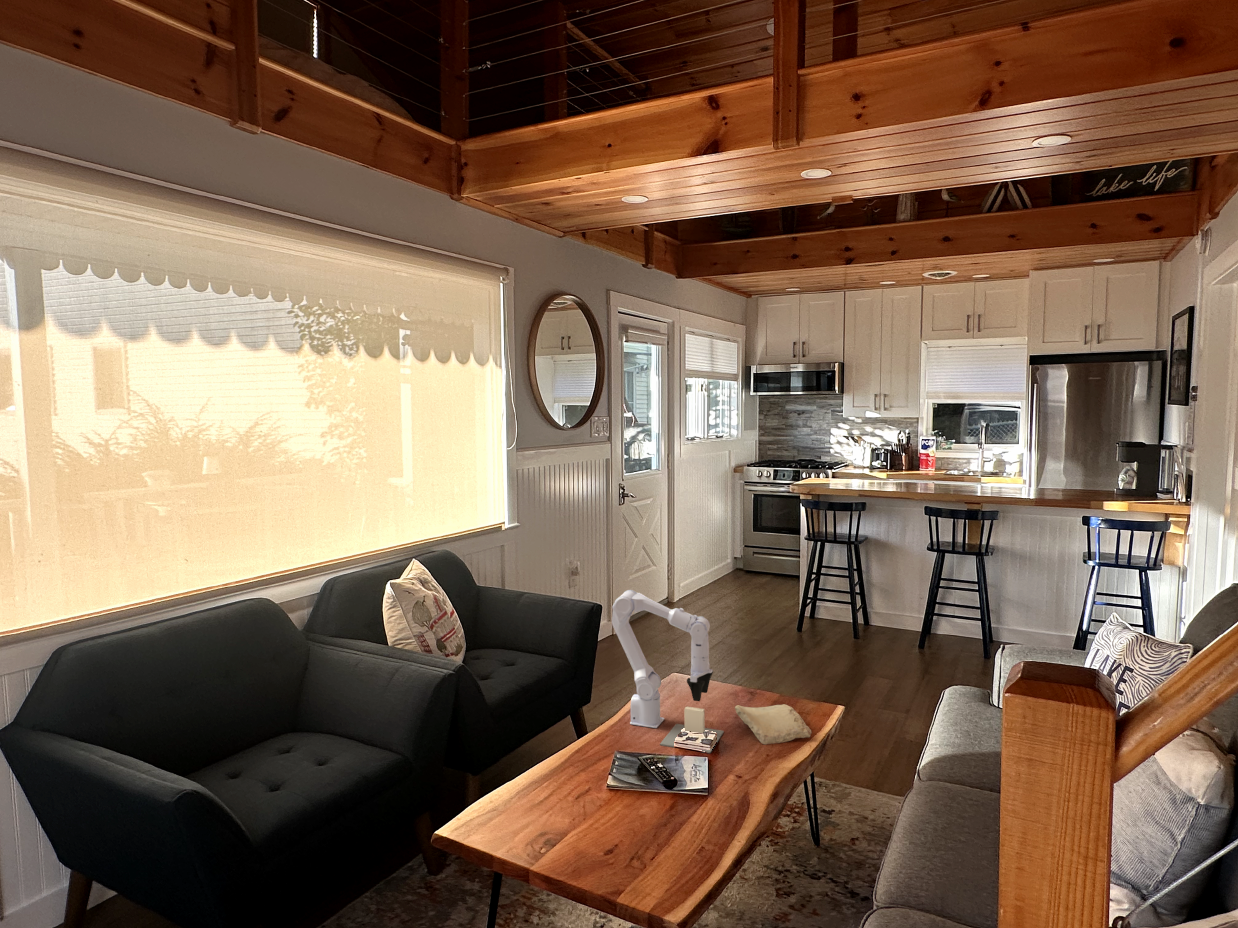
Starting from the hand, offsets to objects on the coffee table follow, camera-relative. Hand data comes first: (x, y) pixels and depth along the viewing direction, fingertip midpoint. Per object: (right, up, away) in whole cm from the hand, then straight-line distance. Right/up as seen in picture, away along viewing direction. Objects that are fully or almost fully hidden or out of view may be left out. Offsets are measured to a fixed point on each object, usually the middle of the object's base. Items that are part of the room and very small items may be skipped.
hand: (700, 696), depth 254 cm
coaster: (-2, -10, -5) cm, 12 cm away
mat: (-3, -11, -7) cm, 14 cm away
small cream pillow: (+23, -11, 0) cm, 25 cm away
